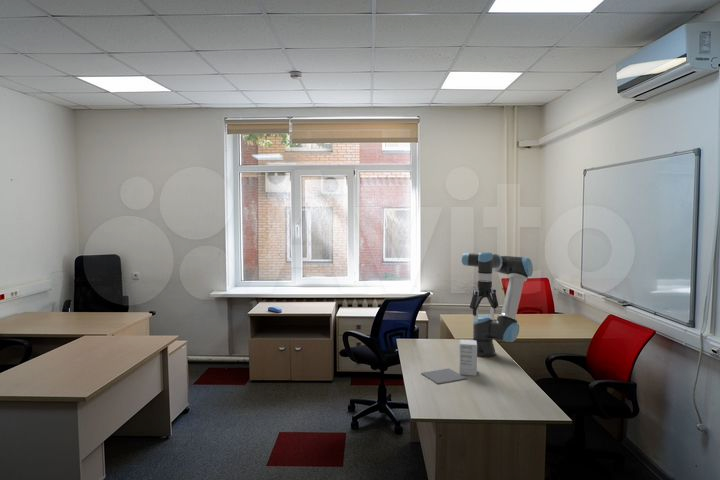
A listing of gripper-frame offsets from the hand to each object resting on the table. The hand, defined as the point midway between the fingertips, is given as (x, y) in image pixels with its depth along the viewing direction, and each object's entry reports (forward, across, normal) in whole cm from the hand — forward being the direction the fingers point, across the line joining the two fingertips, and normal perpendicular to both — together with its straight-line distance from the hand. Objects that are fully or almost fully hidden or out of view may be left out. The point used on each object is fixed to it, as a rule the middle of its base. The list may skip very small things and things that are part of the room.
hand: (483, 320), depth 258 cm
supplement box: (+28, +10, 0) cm, 30 cm away
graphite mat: (+28, +26, 0) cm, 38 cm away
